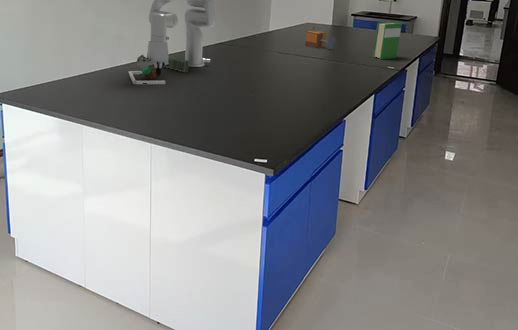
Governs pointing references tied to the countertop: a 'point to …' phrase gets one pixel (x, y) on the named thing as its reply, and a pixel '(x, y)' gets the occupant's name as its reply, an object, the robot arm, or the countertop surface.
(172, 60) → the handheld radio
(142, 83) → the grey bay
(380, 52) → the hardback book
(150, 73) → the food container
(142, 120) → the countertop surface
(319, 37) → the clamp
